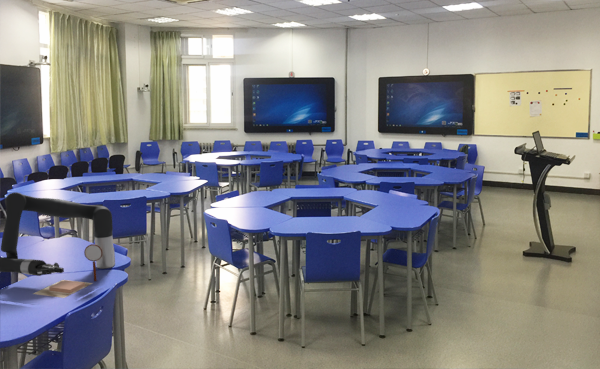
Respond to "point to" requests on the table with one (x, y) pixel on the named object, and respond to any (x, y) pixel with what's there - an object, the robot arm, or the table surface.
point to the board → (57, 294)
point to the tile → (67, 286)
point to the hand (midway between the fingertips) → (62, 270)
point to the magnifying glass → (93, 255)
